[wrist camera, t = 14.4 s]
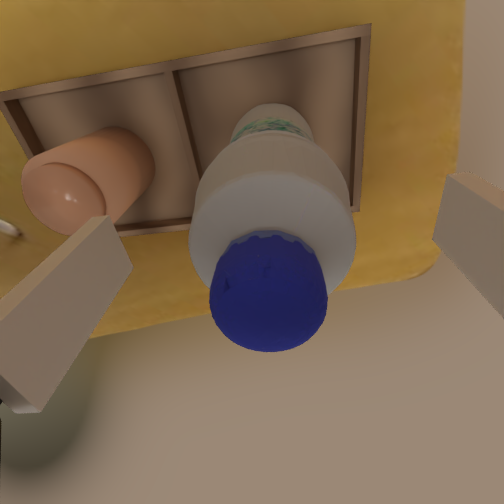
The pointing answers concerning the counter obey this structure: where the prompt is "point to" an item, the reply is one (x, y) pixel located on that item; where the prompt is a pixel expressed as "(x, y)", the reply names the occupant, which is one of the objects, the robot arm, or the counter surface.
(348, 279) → the counter surface
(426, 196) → the counter surface
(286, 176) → the bottle
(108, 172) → the jar
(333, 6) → the counter surface
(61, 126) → the caddy
